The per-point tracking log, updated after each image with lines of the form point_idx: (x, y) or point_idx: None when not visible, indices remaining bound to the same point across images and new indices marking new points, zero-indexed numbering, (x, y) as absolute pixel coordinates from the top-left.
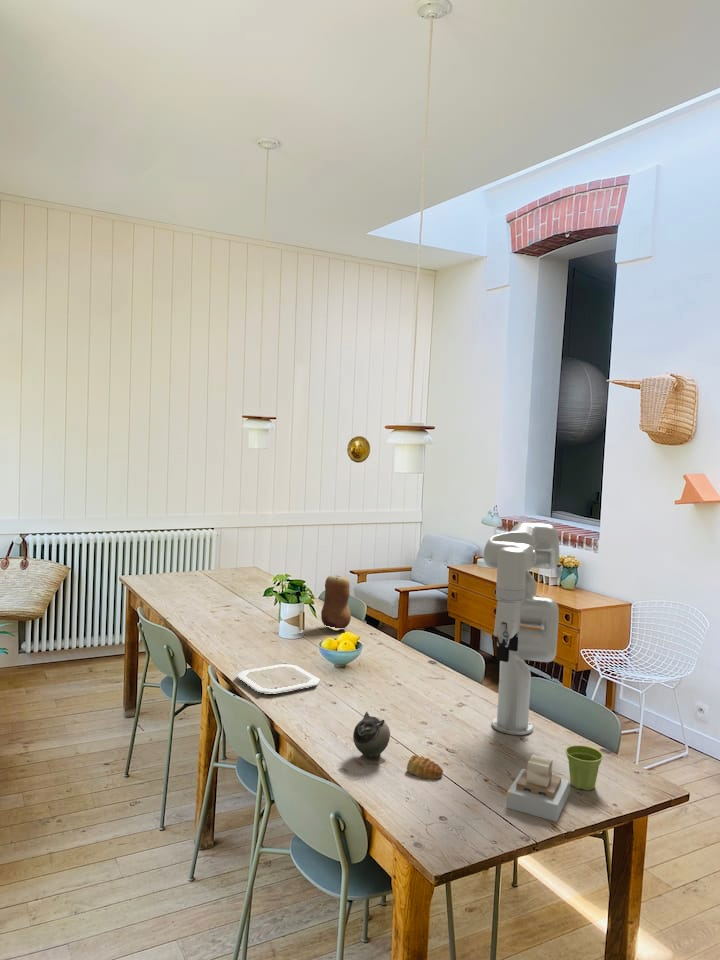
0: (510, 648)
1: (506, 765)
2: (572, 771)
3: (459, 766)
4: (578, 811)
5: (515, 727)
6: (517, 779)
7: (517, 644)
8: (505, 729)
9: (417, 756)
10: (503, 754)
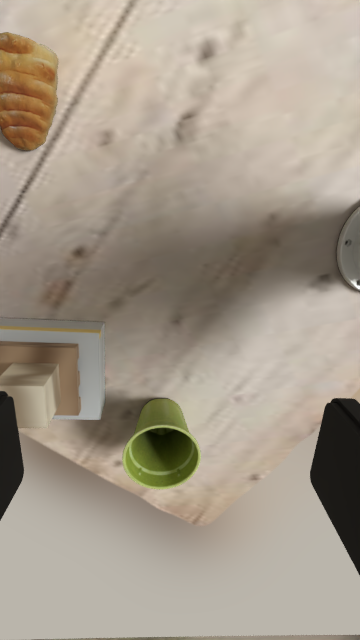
0: (327, 445)
1: (171, 277)
2: (141, 419)
3: (110, 177)
4: (60, 422)
5: (356, 261)
6: (42, 334)
7: (345, 540)
8: (347, 237)
9: (28, 51)
10: (223, 259)
